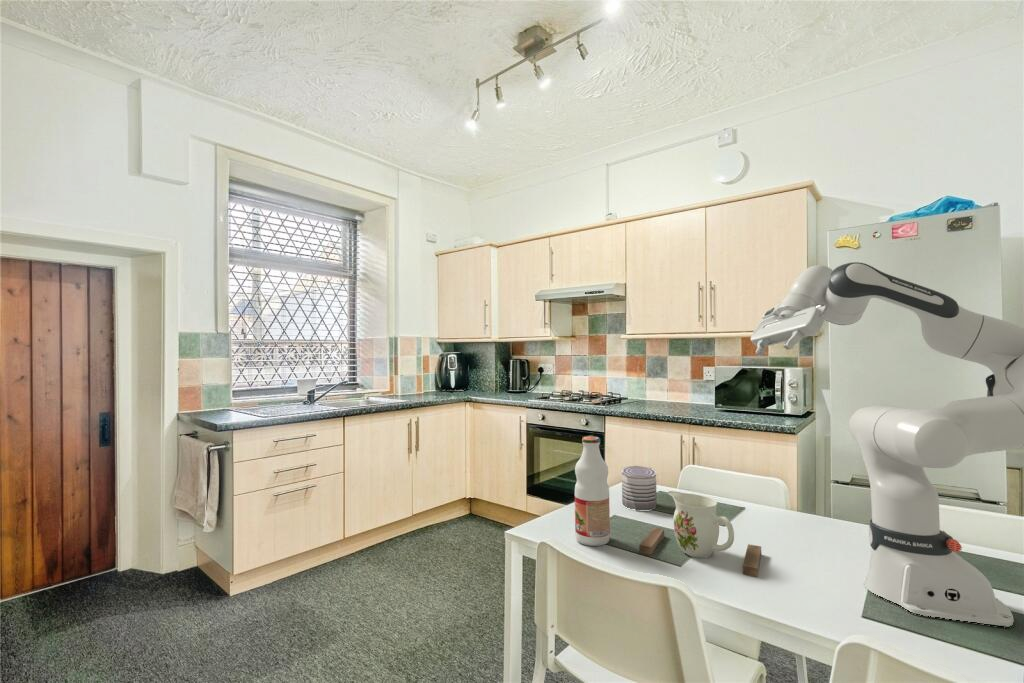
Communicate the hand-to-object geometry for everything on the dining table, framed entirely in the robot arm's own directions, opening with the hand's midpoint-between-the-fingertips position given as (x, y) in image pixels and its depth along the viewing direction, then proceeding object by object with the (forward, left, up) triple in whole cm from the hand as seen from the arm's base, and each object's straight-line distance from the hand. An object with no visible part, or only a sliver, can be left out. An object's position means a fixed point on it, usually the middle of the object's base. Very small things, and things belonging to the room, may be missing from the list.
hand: (772, 351), depth 123 cm
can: (+41, -19, -52) cm, 69 cm away
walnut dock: (+17, +11, -51) cm, 55 cm away
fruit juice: (+44, +16, -52) cm, 70 cm away
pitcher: (+17, +11, -52) cm, 55 cm away
